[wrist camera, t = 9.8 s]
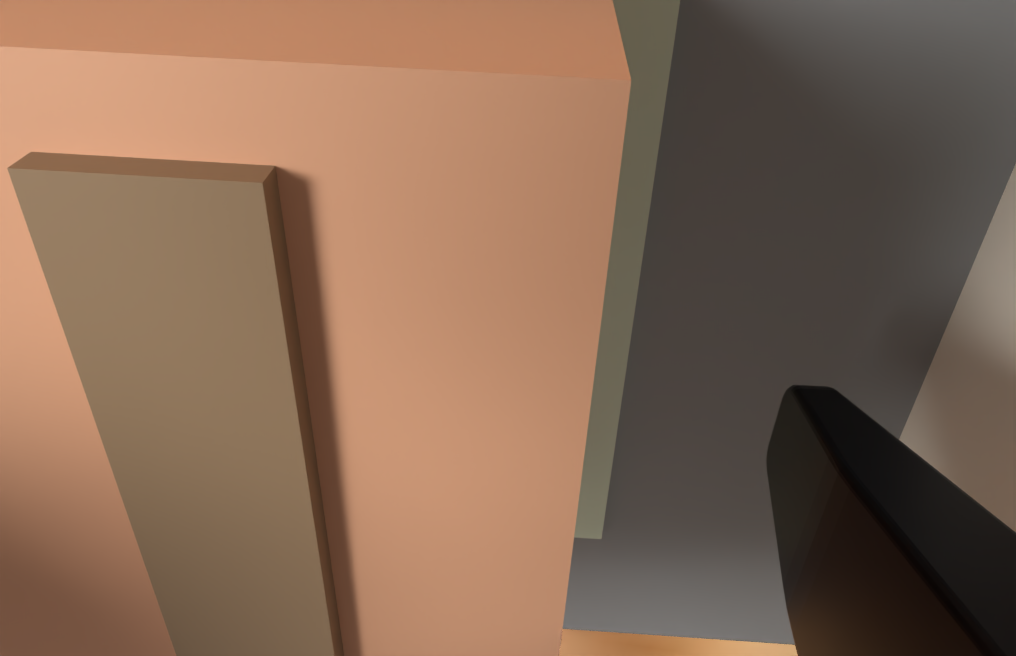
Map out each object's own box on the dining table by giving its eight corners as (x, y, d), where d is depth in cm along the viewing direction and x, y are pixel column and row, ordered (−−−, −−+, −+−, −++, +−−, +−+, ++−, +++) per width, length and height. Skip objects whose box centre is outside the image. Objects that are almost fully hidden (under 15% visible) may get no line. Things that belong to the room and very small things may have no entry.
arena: (1315, -385, 7) (1987, -534, 4) (861, 602, 15) (947, 834, 12) (-325, -434, 7) (-1030, -606, 4) (85, 550, 15) (-45, 759, 12)
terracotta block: (543, 499, 12) (532, 889, 8) (253, 480, 12) (88, 853, 8) (593, -81, 8) (634, 94, 3) (133, -102, 8) (-404, 38, 3)
